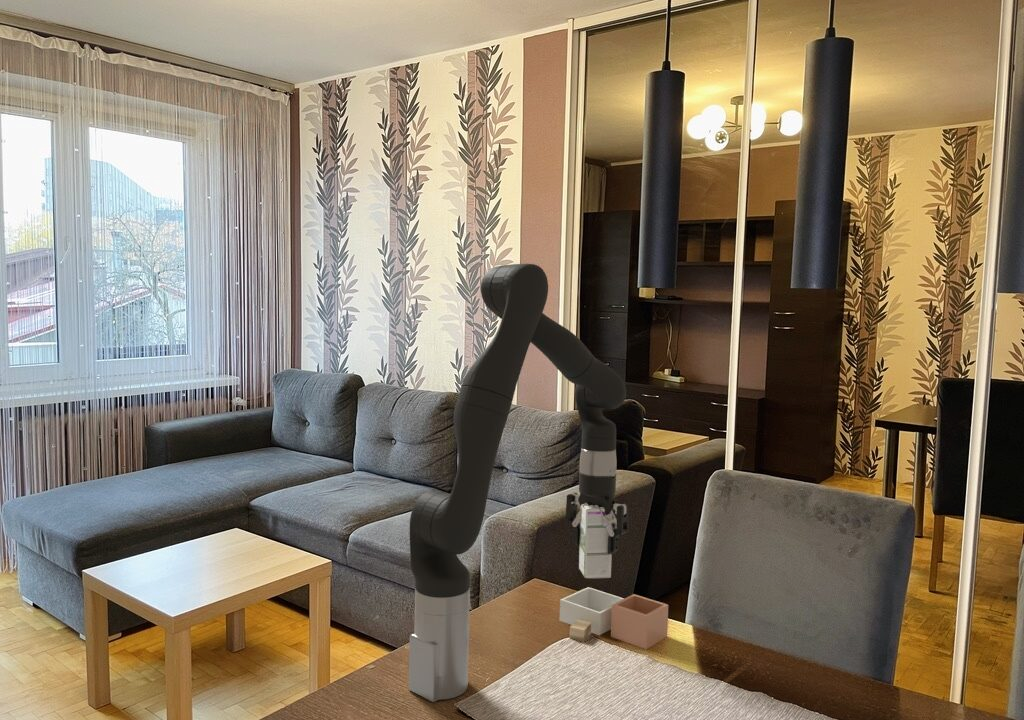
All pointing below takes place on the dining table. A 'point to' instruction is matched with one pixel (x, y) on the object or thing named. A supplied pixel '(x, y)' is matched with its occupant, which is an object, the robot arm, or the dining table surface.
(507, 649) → the dining table surface
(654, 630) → the open box
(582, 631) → the beech block
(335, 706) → the dining table surface
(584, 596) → the bin
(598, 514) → the syrup box
